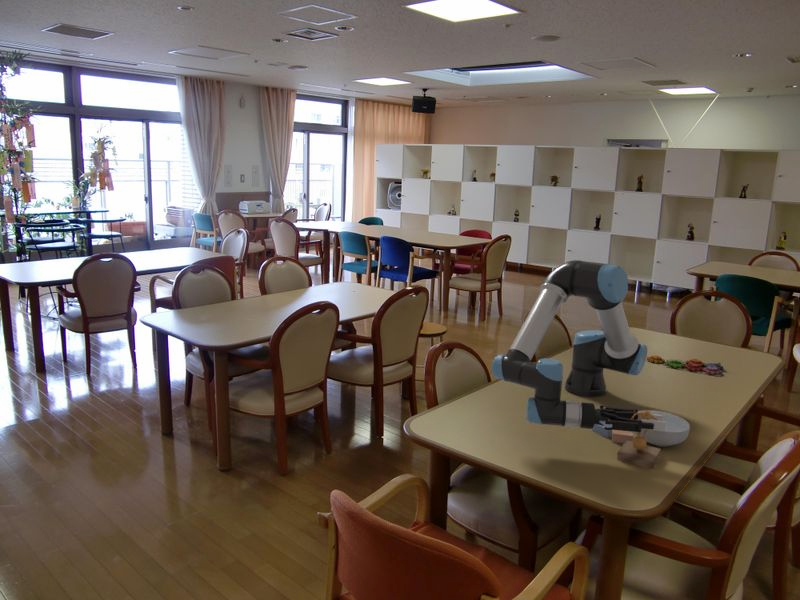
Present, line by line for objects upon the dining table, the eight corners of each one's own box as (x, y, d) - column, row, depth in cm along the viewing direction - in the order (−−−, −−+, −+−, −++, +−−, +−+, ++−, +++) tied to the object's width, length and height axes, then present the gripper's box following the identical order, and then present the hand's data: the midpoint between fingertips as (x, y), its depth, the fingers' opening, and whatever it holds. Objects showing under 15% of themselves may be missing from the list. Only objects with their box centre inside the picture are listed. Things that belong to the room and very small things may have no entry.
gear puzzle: (643, 364, 279) (644, 355, 278) (649, 356, 292) (650, 347, 291) (720, 378, 263) (722, 369, 262) (724, 369, 276) (725, 360, 276)
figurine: (623, 448, 184) (633, 414, 179) (623, 437, 189) (633, 403, 184) (652, 456, 182) (663, 422, 177) (652, 444, 187) (662, 411, 182)
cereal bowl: (619, 439, 197) (622, 418, 196) (643, 426, 209) (645, 406, 207) (674, 458, 185) (676, 435, 184) (695, 442, 197) (698, 421, 196)
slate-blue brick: (592, 431, 203) (593, 422, 203) (598, 429, 205) (599, 421, 204) (606, 438, 198) (607, 429, 198) (613, 436, 200) (614, 427, 199)
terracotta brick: (612, 442, 195) (613, 433, 195) (611, 438, 198) (612, 429, 198) (632, 445, 194) (633, 436, 193) (631, 441, 197) (632, 432, 196)
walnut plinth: (616, 461, 184) (617, 451, 183) (625, 449, 192) (626, 440, 191) (652, 471, 178) (653, 461, 178) (659, 458, 187) (661, 448, 186)
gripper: (576, 415, 195) (655, 423, 191) (581, 438, 178) (668, 447, 174) (578, 392, 193) (658, 400, 189) (584, 413, 176) (671, 422, 172)
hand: (663, 423), depth 182 cm, fingers open, 4 cm apart
